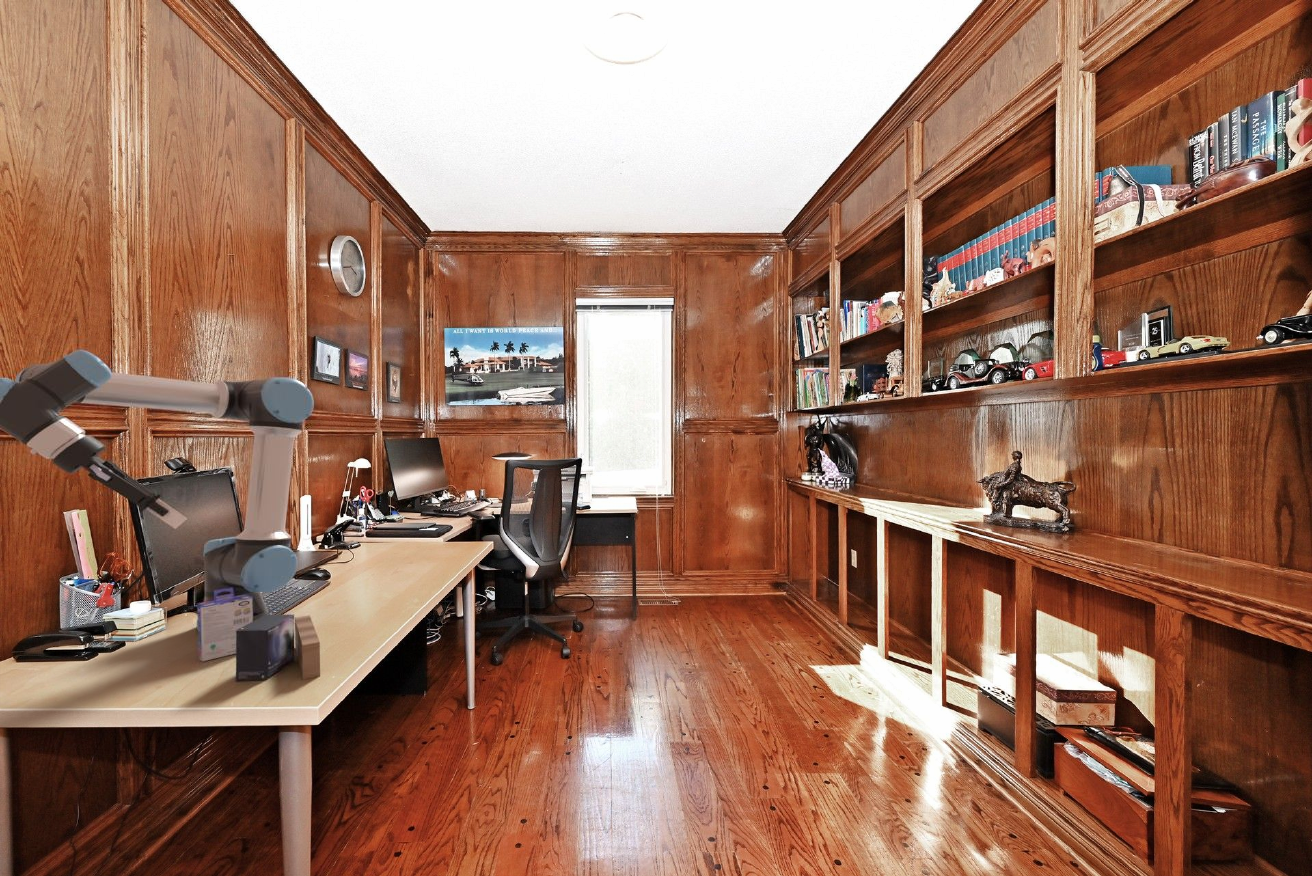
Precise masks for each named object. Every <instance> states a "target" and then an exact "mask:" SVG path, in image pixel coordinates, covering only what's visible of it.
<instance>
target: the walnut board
mask: <svg viewBox="0 0 1312 876" xmlns="http://www.w3.org/2000/svg"><path fill="white" fill-rule="evenodd" d="M320 644H321V642H320V639H319V637H318V634H317V630H316V629H315V626H314V623H313V620H312V617H311V615H303V616H296V617H294V649H295V652H296V657H297V660H298V663H299V668H300V672H301V677H302V680H303V681H304V680H308V678H309V679H314V678H318V677H321V646H320Z"/></svg>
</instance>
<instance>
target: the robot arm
mask: <svg viewBox="0 0 1312 876" xmlns="http://www.w3.org/2000/svg"><path fill="white" fill-rule="evenodd" d="M310 390H311V389H309V388H308V386H306V385H305V384H304V383H303V382H302V381H300V380H298V379H295V378H293V377H284V376H283V377H280V376H276V377H271V378H263V379H253V380H252V379H251V380H245V381H243V380H242V381H227V380H226V381H225V380H217V381H214V382H213V383H209V382H201V381H191V380H185V379H184V380H182V379H175V378H167V377H157V376H150V375H149V376H148V375H142V374H140V375H138V374H129V373H122V372H112V371H111V369H110V368H109V366H108V365H107V364H106V363H105V362H103V360H102V359H100V358H99V357H98V356H96V355H95V354H93V353H91V352H89V351H88V350H84V349H77V350H75V351H73V352H71V353H69V354H64V355H63V356H62V357H61V358H60V359H58V360H56V361H52V362H48V363H41V364H32V365H30V366H28V367H26V368H24V369H22V370H21V371H20V372H19V373H17V375H16V377H15V380H13V379H11V378H9V377H0V430H2V431H3V432H5V433H7V434H8V435H9V436H11V437H12V438H14V439H16V440H17V441H19V442H20V443H22V444H23V445H25V446H27V447H28V448H31V449H30V450H29V452H30V454H31V455H35V454H39V456H41V457H43V458H45V459H46V460H49V459H52V460H51V462H52V464H53V465H54V466H56V467H58V468H59V469H60V470H62V471H64V472H66V473H67V474H74V473H76V472H78V471H79V470H81V469H84V470H86V471H87V472H88V474H87V476H88V477H89V478H91V479H92V480H94V481H97V482H99V483H101V484H103V485H104V486H106V487H107V488H109V489H111V490H112V491H114V492H116V493H117V494H119V495H121V496H122V497H123V498H125V499H126V500H129V502H131V503H133V504H135V505H136V506H137V507H139V508H140V509H139V511H140V512H144V511H145V510H147V512H149V513H151V514H153V516H155V517H157V518H158V519H159V520H162V521H163V522H164V523H165V524H167V525H169V526H170V527H172V528H173V529H174V530H176V529H178V527H180V526H181V525H182V524H183V523H184V522H186V520H188V518H187V517H186V516H185V515H184V514H182V513H181V512H179V511H177V510H176V509H174V507H172V506H170V505H169V504H168V503H166V502H165V501H163V500H161V499H160V498H161V497H162V495H161V494H160V493H158V494H157V495H156V493H154V492H152V491H150V489H148V488H146V487H145V486H144V485H142V484H141V483H140V482H139V481H137V480H136V479H135V478H133V477H131V476H130V475H129V474H128V473H127V472H125V470H123V469H122V468H120V466H118V465H117V463H115V462H114V461H112V460H111V459H108V460H107V459H106V460H104V459H102V458H101V457H99V455H100V454H102V453H103V452H104V451H105V450H106V445H105V444H104V443H102V442H101V441H100V440H98V439H97V438H95V437H94V436H92V435H86V430H84V429H83V428H82V427H80V425H77V424H76V423H75V422H73V421H71V420H70V419H68V417H65V416H64V415H62V414H61V413H60V412H61V411H63V410H64V409H66V408H67V407H69V406H70V405H72V404H74V403H77V404H78V403H80V404H90V405H101V406H102V405H103V406H117V407H130V408H139V409H140V408H143V409H156V410H166V411H167V410H168V411H169V410H170V411H179V412H180V411H181V412H191V413H192V412H194V413H203V414H205V413H206V414H210V415H212V417H214V418H221V419H229V420H237V421H242V422H247V423H248V426H247V427H248V429H249V430H250V432H251V433H253V435H254V437H253V438H254V440H253V448H252V458H251V465H250V476H249V483H248V491H247V492H248V493H247V504H246V513H245V521H244V528H243V531H241V533H239V534H238V535H236V536H231V537H225V538H217V539H211V540H208V541H207V542H206V543H205V544H204V545H203V546H204V547H203V553H202V557H203V575H204V578H203V579H204V601H203V602H208V601H213V600H214V590H219V589H225V588H231V587H233V591H234V595H235V596H239V595H244V594H248V595H249V596H251V597H252V608H253V621H255V620H257V619H259V618H261V617H263V616H265V615H269V610H268V607H267V605H266V603H265V600H264V599H263V596H262V594H263V593H273V592H276V591H279V590H280V589H282V588H283V587H285V585H287V584H288V583H290V581H291V580H292V579H293V577H294V576H295V574H296V573H297V572H296V571H297V569H298V557H297V555H296V553H294V551H293V550H292V549H291V541H292V536H291V534H289V533H288V531H286V525H287V524H286V522H287V512H288V505H289V493H290V486H291V485H290V484H291V475H292V467H293V457H294V445H295V439H296V437H298V436H299V435H300V434H301V433H303V426H304V421H305V420H306V419H308V418H309V417H310V416H311V415H312V413H313V410H314V406H315V402H314V396H313V394H312V392H311V391H310ZM261 593H262V594H261ZM227 594H230V592H228V591H224V592H221V593H218V594H217V596H221V595H227ZM196 632H198V619H197V620H196Z"/></svg>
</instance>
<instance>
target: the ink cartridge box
mask: <svg viewBox="0 0 1312 876" xmlns="http://www.w3.org/2000/svg"><path fill="white" fill-rule="evenodd" d="M224 591H228V592H230V594H227V595H221V596H217V594H218V593H221V592H224ZM196 611H197V612H196V616H197V620H198V631H197V633H198V659H199V660H200V662H206V661H210V660H214V659H218V658H222V657H227V656H231V655H232V656H233V655H236V630H237V629H239V628H241V627H243V626H245V625H247V624H249V623H251V622H253V608H252V597H251V596H249V595H248V594H244V595H239V596H235V595H234V591H233V587H231V588H225V589H219V590H214V600H213V601H208V602H204V601H203V602H198V603H196Z"/></svg>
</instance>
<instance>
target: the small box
mask: <svg viewBox="0 0 1312 876" xmlns="http://www.w3.org/2000/svg"><path fill="white" fill-rule="evenodd" d="M235 655H236V656H235V682H239V681H240V682H244V681H245V682H246V681H266V680H268V679H270V678H272V677H273V676H274V675H275V674H277V673H278V672H280V671H281V670H283V669H284V668H285V667H287V666H288V665H290V664H292V663H294V661H295V614H294V613H293V614H268V615H265V616H263V617H261V618H259V619H257V620H255V621H253V622H251V623H249V624H247V625H245V626H243V627H241V628H239V629H237V630H236V654H235Z"/></svg>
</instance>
